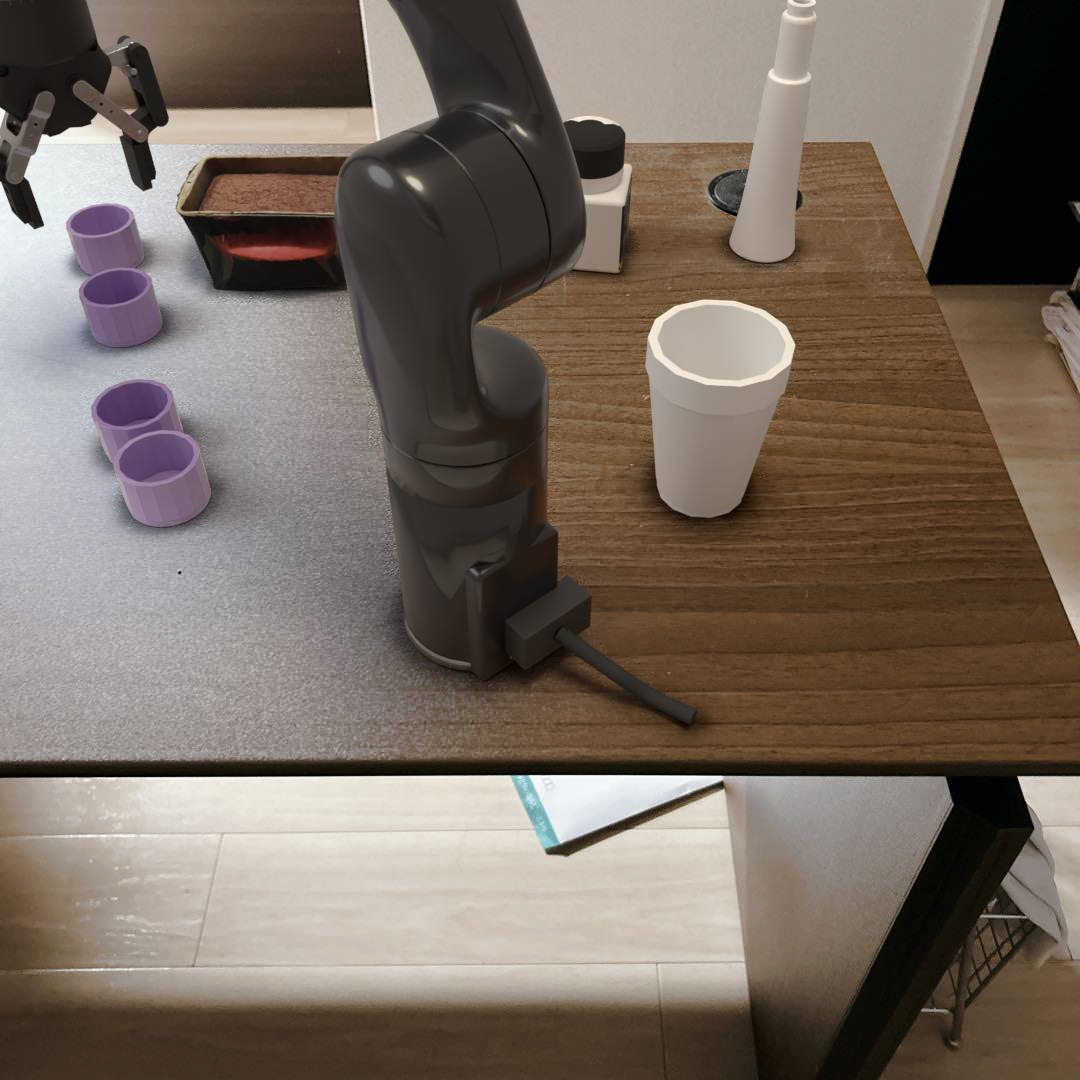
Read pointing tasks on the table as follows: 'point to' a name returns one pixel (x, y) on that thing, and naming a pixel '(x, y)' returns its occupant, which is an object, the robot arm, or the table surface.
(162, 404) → the dish
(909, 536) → the table surface
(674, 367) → the foam cup
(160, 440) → the dish
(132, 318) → the dish
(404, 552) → the robot arm
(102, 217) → the dish far
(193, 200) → the baking dish
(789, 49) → the cosmetic bottle
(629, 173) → the medicine bottle
